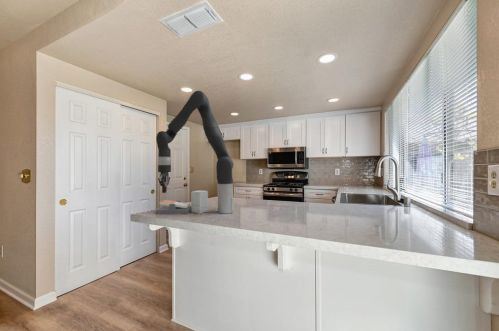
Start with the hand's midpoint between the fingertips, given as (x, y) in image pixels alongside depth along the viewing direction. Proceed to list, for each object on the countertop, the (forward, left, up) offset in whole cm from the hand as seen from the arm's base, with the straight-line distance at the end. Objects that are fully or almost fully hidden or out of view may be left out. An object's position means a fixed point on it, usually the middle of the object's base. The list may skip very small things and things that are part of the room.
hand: (164, 192), depth 133 cm
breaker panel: (-7, 0, -12) cm, 14 cm away
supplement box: (-22, 0, -12) cm, 25 cm away
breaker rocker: (-7, 0, -7) cm, 10 cm away
